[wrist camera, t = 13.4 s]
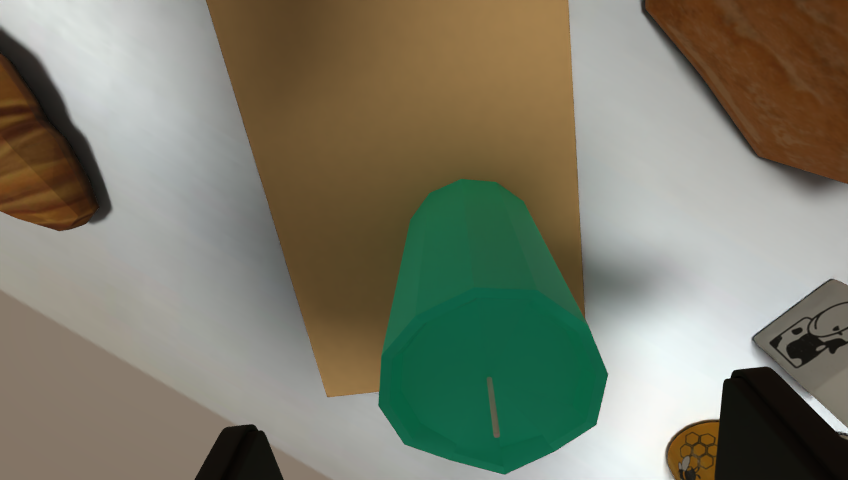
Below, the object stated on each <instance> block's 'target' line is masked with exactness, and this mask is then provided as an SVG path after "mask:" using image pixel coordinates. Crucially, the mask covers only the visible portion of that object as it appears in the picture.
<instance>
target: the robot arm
mask: <svg viewBox="0 0 848 480" xmlns="http://www.w3.org/2000/svg"><path fill="white" fill-rule="evenodd" d="M714 479H715V480H848V440H847V439H845V438H843V437H841V436H840V435H839V434H838V433H837V432H836V431H835V430H834V429H833V428H832V427H831V426H830V425H829V424H827V423H826V422H825V421H824V420H823V419H822V418H821V417H820V416H819V415H818V414H817V413H816V412H815V411H814V410H813V409H812V408H811V407H810V406H809V405H808V404H807V403H806V402H805V401H804V400H803V399H802V398H801V397H800V396H799V395H798V394H797V393H796V392H795V391H794V390H793V389H792V388H791V387H790V386H789V385H788V384H787V383H786V382H785V381H784V380H783V379H782V378H781V377H780V376H779V375H778V374H777V373H776V372H775V371H774V370H773V369H771V368H769V367H758V368H749V369H740V370H734V371H733V372H732V375H731V378H730V379H725V381H724V383H723V391H722V401H721V412H720V422H719V432H718V443H717V453H716V464H715V474H714ZM195 480H284V479H283V477H282V475H281V472H280V469H279V467H278V465H277V462H276V460H275V457H274V455H273V452H272V450H271V447H270V445H269V442H268V440H267V437H266V435H265V433H264V432H263V431H258V429H257V428H256V426H255V425H253V424H250V425H241V426H232V427H226V428H224V429H223V430H222V432H221V433H220V435H219V437H218V438H217V440H216V442H215V444H214V445H213V447H212V449H211V451H210V453H209V455H208V456H207V458H206V460H205V462H204V464H203V465H202V467H201V469H200V471H199V473H198V474H197V476H196V478H195Z"/></svg>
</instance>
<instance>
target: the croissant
mask: <svg viewBox="0 0 848 480" xmlns="http://www.w3.org/2000/svg"><path fill="white" fill-rule="evenodd" d="M98 208H99V204H98V202H97V199H96V197H95V194H94V191H93V189H92V186H91V183H90V181H89V178H88V176H87V174H86V173H85V171H84V169H83V167H82V166H81V164H80V162H79V160H78V158H77V157H76V155H75V153H74V151H73V150H72V148H71V146H70V144H69V143H68V141H67V139H66V138H65V137H64V136H63V135H62V134H61V133H60V132H59V131H58V130H57V129H56V128H55V127H54V126H53V125H52V124H51V123H50V122H49V120H48V119H47V117H46V115H45V113H44V111H43V109H42V108H41V106H40V104H39V102H38V100H37V99H36V97H35V96H34V94H33V93H32V91H31V90H30V88H29V87H28V85H27V84H26V82H25V81H24V79H23V78H22V76H21V75H20V74H19V72H18V71H17V69H16V68H15V66H14V65H13V63H12V62H11V61H10V60H9V59H7V58H6V57H5V56H4V55H3V54H2V53H0V211H1V212H3V213H6V214H8V215H10V216H13V217H15V218H17V219H21V220H24V221H27V222H31V223H34V224H37V225H41V226H44V227H47V228H51V229H54V230H57V231H63V230H69V229H73V228H76V227H79V226H82V225H84V224H86V223H87V222H88V221H89V220H90V219H91V217H92V216H93V215H94V214H95V212H96V211H97V210H98Z"/></svg>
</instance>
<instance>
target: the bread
mask: <svg viewBox="0 0 848 480" xmlns="http://www.w3.org/2000/svg"><path fill="white" fill-rule="evenodd" d="M645 6H646V10H647V11H648V12H649V14H650V15H651V16H652V17H653V18H654V19H655V21H656V22H657V23H658V24H659V25H660V27H661V28H662V29H663V30H664V31H665V33H666V34H667V35H668V36H669V37H670V39H671V40H672V41H673V42H674V43H675V45H676V46H677V47H678V48H679V49H680V51H681V52H682V53H683V54H684V55H685V57H686V58H687V59H688V60H689V61H690V63H691V64H692V65H693V66H694V67H695V68H696V70H697V71H698V72H699V73H700V75H701V76H702V78H703V79H704V80H705V82H706V83H707V85H708V86H709V87H710V89H711V90H712V92H713V93H714V94H715V96H716V97H717V99H718V100H719V101H720V103H721V104H722V106H723V107H724V109H725V110H726V111H727V113H728V114H729V116H730V117H731V118H732V120H733V121H734V123H735V124H736V125H737V127H738V128H739V130H740V131H741V132H742V134H743V135H744V137H745V138H746V140H747V141H748V142H749V144H750V145H751V147H752V148H753V149H754V151H755V152H756V154H757V155H758V156H759V157H763V158H766V159H769V160H772V161H776V162H779V163H782V164H785V165H789V166H792V167H795V168H798V169H801V170H805V171H808V172H811V173H814V174H818V175H821V176H824V177H827V178H831V179H834V180H837V181H840V182H844V183H847V184H848V0H645Z"/></svg>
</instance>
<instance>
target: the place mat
mask: <svg viewBox="0 0 848 480" xmlns="http://www.w3.org/2000/svg"><path fill="white" fill-rule="evenodd" d="M206 2H207V5H208V9H209V12H210V15H211V18H212V22H213V25H214V28H215V31H216V35H217V38H218V41H219V45H220V48H221V51H222V54H223V58H224V61H225V64H226V67H227V71H228V74H229V77H230V81H231V84H232V87H233V90H234V94H235V97H236V100H237V103H238V107H239V110H240V113H241V117H242V120H243V123H244V126H245V130H246V133H247V136H248V139H249V143H250V146H251V149H252V153H253V156H254V159H255V162H256V166H257V169H258V172H259V175H260V179H261V182H262V185H263V189H264V192H265V195H266V198H267V202H268V205H269V208H270V211H271V215H272V218H273V221H274V225H275V228H276V231H277V234H278V238H279V241H280V244H281V247H282V251H283V254H284V257H285V261H286V264H287V267H288V270H289V274H290V277H291V280H292V283H293V287H294V290H295V293H296V297H297V300H298V303H299V306H300V310H301V313H302V316H303V319H304V323H305V326H306V329H307V333H308V336H309V339H310V342H311V346H312V349H313V352H314V355H315V359H316V362H317V365H318V369H319V372H320V375H321V378H322V382H323V385H324V388H325V391H326V395H327V397H335V396H344V395H353V394H362V393H371V392H379V387H380V370H381V355H382V350H383V345H384V341H385V336H386V331H387V327H388V322H389V317H390V312H391V308H392V303H393V298H394V294H395V289H396V284H397V280H398V275H399V270H400V266H401V261H402V256H403V252H404V247H405V242H406V237H407V233H408V228H409V223H410V219H411V218H412V217H413V215H414V214H415V212H416V211H417V210H418V208H419V207H420V205H421V204H422V203H423V201H424V200H425V199H426V197H427V196H428V194H429V193H431V192H433V191H435V190H437V189H440V188H442V187H444V186H446V185H449V184H451V183H453V182H455V181H457V180H460V179H468V180H480V181H491V182H497V183H498V184H500V185H501V186H502V187H504V188H505V189H507V190H508V191H510V192H511V193H512V194H514V195H515V196H517V197H518V198H520V199H521V200H522V201H524V203H525V205H526V207H527V209H528V211H529V213H530V215H531V217H532V219H533V220H534V222H535V224H536V226H537V228H538V230H539V232H540V234H541V236H542V238H543V240H544V242H545V244H546V245H547V247H548V249H549V251H550V253H551V255H552V257H553V259H554V261H555V263H556V265H557V267H558V269H559V270H560V272H561V274H562V276H563V278H564V280H565V282H566V284H567V286H568V288H569V290H570V292H571V294H572V295H573V297H574V299H575V301H576V303H577V305H578V307H579V309H580V311H581V313H582V315H583V317H584V319H585V308H584V289H583V271H582V252H581V233H580V214H579V195H578V176H577V158H576V139H575V120H574V101H573V82H572V64H571V45H570V26H569V7H568V0H206Z"/></svg>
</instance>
